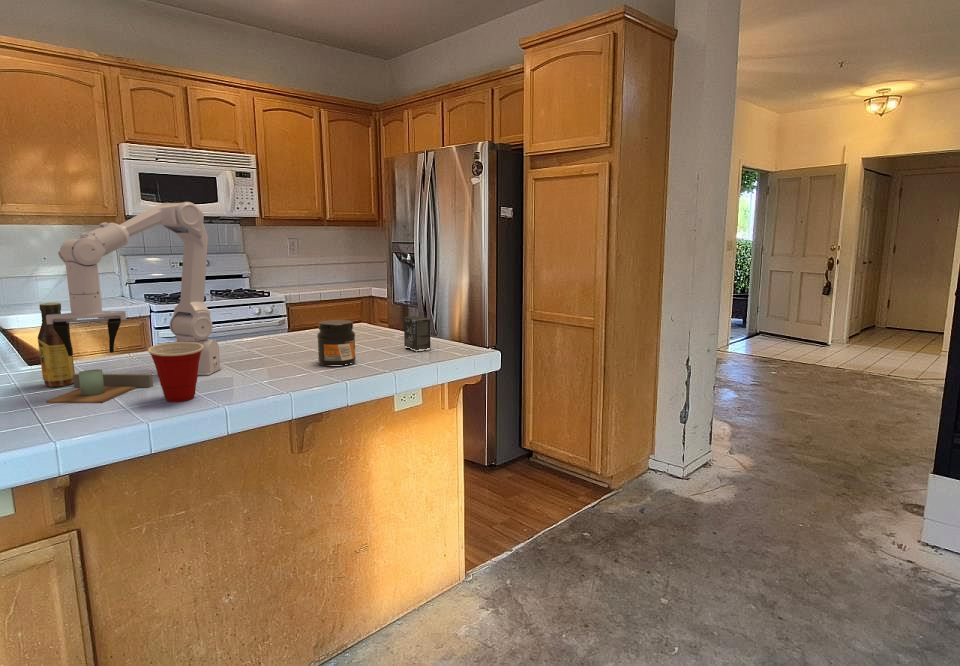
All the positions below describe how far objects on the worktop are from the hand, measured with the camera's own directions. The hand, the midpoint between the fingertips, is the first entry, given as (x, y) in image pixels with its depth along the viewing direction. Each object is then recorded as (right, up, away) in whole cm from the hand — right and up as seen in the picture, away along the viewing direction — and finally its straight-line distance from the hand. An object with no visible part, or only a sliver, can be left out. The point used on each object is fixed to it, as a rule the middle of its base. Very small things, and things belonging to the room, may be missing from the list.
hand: (91, 353), depth 127 cm
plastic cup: (+21, -10, -2) cm, 23 cm away
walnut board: (0, -9, 0) cm, 9 cm away
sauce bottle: (-14, -8, +9) cm, 18 cm away
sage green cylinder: (0, -9, +1) cm, 9 cm away
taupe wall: (0, -8, +8) cm, 11 cm away
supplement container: (+47, -4, +35) cm, 59 cm away
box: (+67, -1, +56) cm, 88 cm away
